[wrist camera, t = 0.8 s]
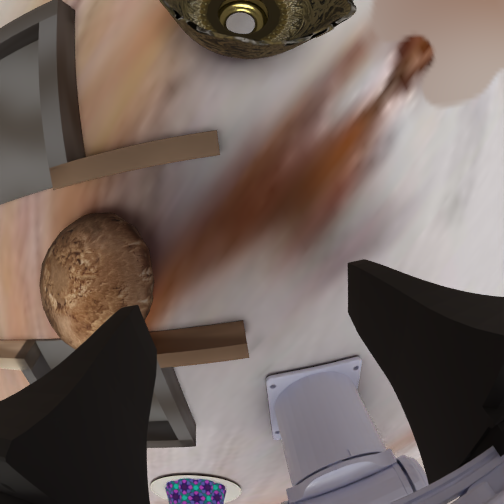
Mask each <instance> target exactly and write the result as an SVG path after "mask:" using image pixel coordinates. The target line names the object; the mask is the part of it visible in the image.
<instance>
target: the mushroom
mask: <svg viewBox="0 0 504 504" xmlns="http://www.w3.org/2000/svg"><path fill="white" fill-rule="evenodd" d="M153 286H154V278H153V272H152V266H151V259H150V253H149V249H148V248H147V246H146V244H145V243H144V241H143V240H142V238H141V236H140V235H139V233H138V231H137V230H136V228H135V227H134V226H133V225H131V224H130V223H128V222H126V221H125V220H123V219H122V218H120V217H119V216H117V215H116V214H112V213H95V214H88V215H85V216H83V217H81V218H79V219H78V220H76V221H75V222H73V223H72V224H71V225H69V226H68V227H66V228H65V229H64V230H63V231H62V232H60V234H59V235H58V236H57V238H56V239H55V241H54V242H53V244H52V245H51V246H50V248H49V249H48V252H47V254H46V256H45V258H44V261H43V263H42V269H41V277H40V293H41V299H42V305H43V309H44V311H45V313H46V316H47V318H48V320H49V322H50V324H51V326H52V327H53V329H54V330H55V332H56V333H57V335H58V336H59V337H60V339H61V340H62V341H63V342H65V343H66V344H67V345H69V346H70V347H72V348H73V349H75V350H76V349H77V348H78V347H79V346H80V345H81V344H82V343H83V342H85V341H86V340H87V339H88V338H89V337H90V336H91V335H92V334H93V333H94V332H95V331H96V330H97V329H98V328H99V327H100V326H101V325H102V324H103V323H104V322H106V321H107V320H108V319H109V318H110V317H111V316H112V315H113V314H114V313H115V312H117V311H118V310H119V309H121V308H122V307H127V306H133V305H138V306H139V308H140V311H141V313H142V316H143V318H144V321H145V319H146V317H147V315H148V313H149V311H150V307H151V304H152V301H153V295H152V292H153Z"/></svg>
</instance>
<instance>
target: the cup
mask: <svg viewBox="0 0 504 504" xmlns="http://www.w3.org/2000/svg"><path fill="white" fill-rule="evenodd" d="M160 2H161V3H162V4H163V6H164V7H165V8H166V9H167V10H168V11H169V13H170V14H171V15H172V17H173V18H174V19H175V20H176V22H177V23H178V24H179V25H180V26H181V28H182V29H183V30H184V31H185V32H186V33H187V34H188V35H189V36H190V37H191V38H192V39H193V40H195V41H196V42H197V43H199V44H200V45H201V46H203V47H205V48H207V49H208V50H211V51H213V52H215V53H218V54H221V55H224V56H228V57H234V58H242V59H256V58H264V57H269V56H273V55H277V54H280V53H283V52H285V51H288V50H290V49H293V48H295V47H297V46H299V45H301V44H303V43H305V42H307V41H309V40H311V39H313V38H315V37H316V38H317V37H319V36H321V35H323V34H325V33H327V32H329V31H331V30H332V29H334V27H335V26H337V25H338V24H340V23H342V22H343V21H345V20H347V19H349V18H350V17H351V16H352V15H353V14H354V13H355V12H356V6H355V5H354V3H353V0H160ZM236 12H245V13H248V14H250V15H251V16H252V17H253V18H254V20H255V28H254V30H253V31H252V32H251V33H249V34H238V33H234V32H231V31H229V30H228V29H227V27H226V21H227V18H228V17H229V16H230V15H231V14H233V13H236Z"/></svg>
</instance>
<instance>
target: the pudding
mask: <svg viewBox="0 0 504 504" xmlns="http://www.w3.org/2000/svg"><path fill="white" fill-rule="evenodd" d="M181 478H199V480H194V479H181ZM175 479H179V480H178V481H171V480H175ZM205 479H207V480H205ZM210 480H212V481H210ZM168 481H170V482H168ZM213 481H216V482H219V483H221V484H218V483H214V482H213ZM167 482H168V483H167ZM165 483H167V487H166V488H165V489H166V490H165V489H164V485H165ZM222 484H223V485H222ZM224 485H225V486H226V487H227V492H226V490H225V486H224ZM150 488H151V490H152V492H153V493H154V494H156V495H157V496H159V497H161V498H163V499H165V500H168V501H169V504H224V503H227V502H230V501H232V500H234V499H236V498H237V497H239V496H240V494H241V489H240V487H239V486H238V485H236V484H234V483H232V482H230V481H227V480H223V479H219V478H214V477H206V476H193V475H181V476H169V477H164V478H160V479H157V480H155V481H154V482H153V483H151V486H150Z"/></svg>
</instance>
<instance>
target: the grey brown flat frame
mask: <svg viewBox="0 0 504 504" xmlns="http://www.w3.org/2000/svg"><path fill="white" fill-rule="evenodd" d="M74 25H75V10H74V9H72V8H71V7H70V6H68V5H67V4H66V3H65V2H63V1H62V0H52V1H50V2H48V3H46V4H44V5H42V6H39V7H37V8H35V9H34V10H32V11H30V12H28V13H26V14H24V15H22V16H20V17H19V18H17V19H15V20H13V21H12V22H10V23H8V24H7V25H5V26H3V27H2V28H0V205H1V204H3V203H6V202H9V201H12V200H15V199H18V198H21V197H24V196H27V195H30V194H33V193H37V192H40V191H43V190H46V189H50V188H53V190H55V189H59V188H62V187H66V186H70V185H73V184H77V183H81V182H85V181H89V180H93V179H97V178H101V177H105V176H109V175H114V174H118V173H122V172H127V171H132V170H136V169H141V168H146V167H151V166H156V165H162V164H167V163H172V162H178V161H184V160H190V159H196V158H203V157H209V156H216V155H220V152H219V144H218V136H217V130H215V131H208V132H202V133H195V134H189V135H183V136H177V137H172V138H166V139H161V140H156V141H151V142H146V143H142V144H137V145H132V146H128V147H124V148H120V149H115V150H111V151H107V152H103V153H100V154H96V155H92V156H88V157H85V152H84V146H83V139H82V132H81V124H80V116H79V107H78V97H77V85H76V70H75V39H74ZM149 333H150V335H151V338H152V340H153V342H154V345H155V347H156V349H157V370H156V380H155V386H154V392H153V398H152V404H151V410H150V416H149V423H148V430H147V448H168V447H192V446H196V424H195V422H194V419H193V417H192V415H191V412H190V410H189V407H188V405H187V403H186V400H185V398H184V395H183V393H182V390H181V388H180V385H179V382H178V380H177V377H176V375H175V372H174V369H173V367H177V366H188V365H197V364H206V363H214V362H222V361H229V360H236V359H243V358H249V353H248V347H247V341H246V335H245V329H244V323H243V321H236V322H229V323H222V324H215V325H207V326H200V327H192V328H184V329H175V330H166V331H157V332H149ZM74 351H75V349H73V348H72V347H70V346H69V345H67V344H66V343H65V342H63V341H62V340H61V339H44V340H0V369H12V370H21V371H22V372H23V374H24V375H25V377H26V378H27V380H28V382H29V383H30V384H32V383H33V382H35V381H36V380H38V379H40V378H41V377H42V376H44V375H45V374H47V373H48V372H49V371H51V370H52V369H53V368H55V367H56V366H57V365H58V364H60V363H61V362H62V361H63V360H65V359H66V358H67V357H68V356H69V355H70V354H71V353H72V352H74Z"/></svg>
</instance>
